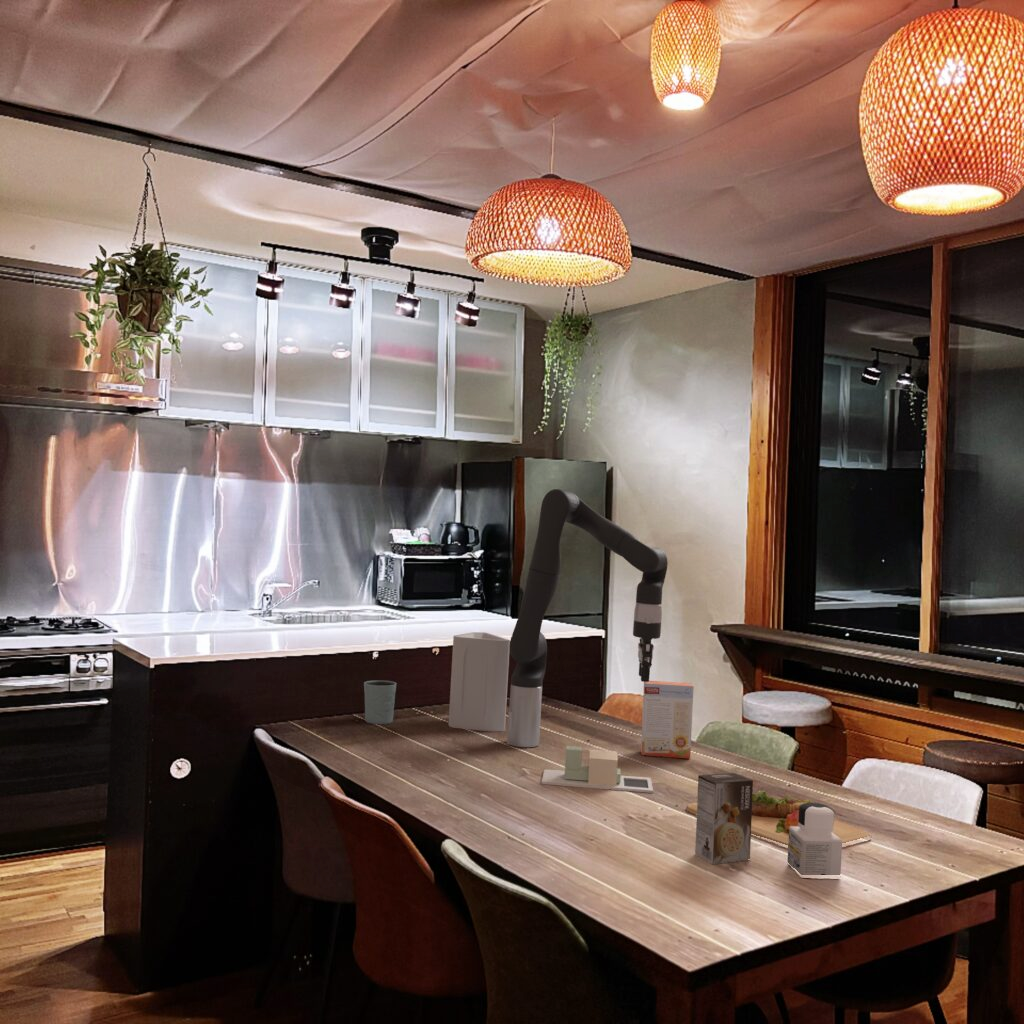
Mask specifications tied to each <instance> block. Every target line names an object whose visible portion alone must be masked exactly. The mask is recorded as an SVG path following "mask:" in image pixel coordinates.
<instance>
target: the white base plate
mask: <svg viewBox="0 0 1024 1024" xmlns="http://www.w3.org/2000/svg"><path fill="white" fill-rule="evenodd" d="M588 757H589V760H588V763H589V764H588V766H589V776H588V781H585V780H572V779H564V775H565V770H558V769H546V768H545V769H544V770H543V774H542V779H541V785H550V786H551V785H552V786H564V787H575V788H577V787H578V788H585V789H586V788H587V789H597V790H598V789H599V790H600V789H601V790H609V789H611V790H612V791H621V790H623V792H635V793H648V794H649V793H650V794H654V788H653V783H652V777H647V776H646V777H644V776H635V775H634V776H633V775H621V780H620V783H617V768H618V763H619V760H618V751H613V750H601V749H589V756H588Z"/></svg>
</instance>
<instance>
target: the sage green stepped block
mask: <svg viewBox="0 0 1024 1024" xmlns="http://www.w3.org/2000/svg"><path fill="white" fill-rule="evenodd" d="M582 756H583V747H582V746H574V745H566V747H565V761H564V762H565V763H564V771H565V775H564V779H572V780H585V781H588V776H589V765H582V759H583V757H582ZM621 771H622V770H621V768H618V767H617V783H620V780H621V776H622V773H621Z"/></svg>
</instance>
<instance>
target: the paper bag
mask: <svg viewBox="0 0 1024 1024" xmlns="http://www.w3.org/2000/svg"><path fill="white" fill-rule="evenodd" d="M452 639H453V641H452V657H451V659H452V660H451V671H450V672H451V676H450V691H449V694H450V695H449V710H448V711H449V712H448V726H449V727H450V728H455V729H463V730H473V731H482V732H483V731H484V732H491V733H492V732H505V731H506V719H507V702H508V701H507V698H508V683H509V682H508V681H509V667H510V648H509V645H510V640H511V639H508V638H504V637H502V636H498V635H495V634H492V633H489V632H485V631H483V632H481V631H480V632H477V631H476V632H474V631H472V632H466V633H462V634H460V633H459V634H456V635H453V638H452Z"/></svg>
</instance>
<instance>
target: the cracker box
mask: <svg viewBox="0 0 1024 1024" xmlns="http://www.w3.org/2000/svg"><path fill="white" fill-rule="evenodd" d="M642 695H643V696H642V697H643V699H642V713H641V714H642V715H641V716H642V718H641V739H640V741H641V742H640V753H641V756H644V755H646V756H647V757H660V756H662V758H663V757H664V758H673V757H674V758H677V759H687V760H688V759H691V751H692V750H691V748H692V728H693V709H694V708H693V705H694V704H693V702H694V685H693V684H692V683H690V682H677V681H676V682H674V681H664V680H662V681H661V680H649V681H648V682H643V693H642Z"/></svg>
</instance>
